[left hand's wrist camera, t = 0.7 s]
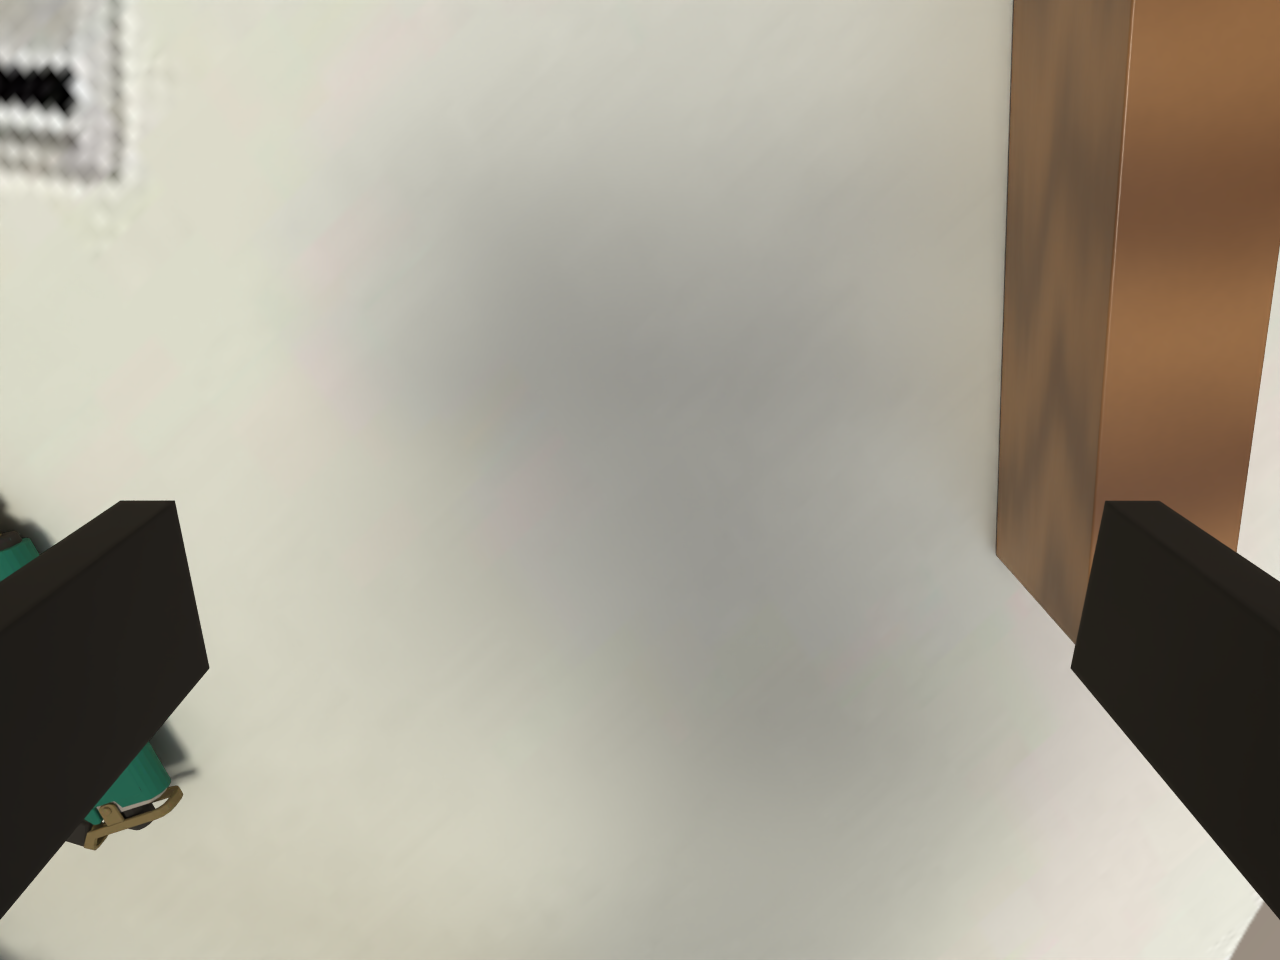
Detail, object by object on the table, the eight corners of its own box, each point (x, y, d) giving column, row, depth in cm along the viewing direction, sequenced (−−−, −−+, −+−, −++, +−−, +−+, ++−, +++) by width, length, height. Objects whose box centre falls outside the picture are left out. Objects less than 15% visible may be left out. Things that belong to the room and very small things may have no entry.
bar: (1108, 543, 37) (1225, 640, 30) (995, 555, 37) (1083, 655, 30) (1182, -341, 26) (1390, -529, 19) (1023, -317, 27) (1169, -495, 19)
